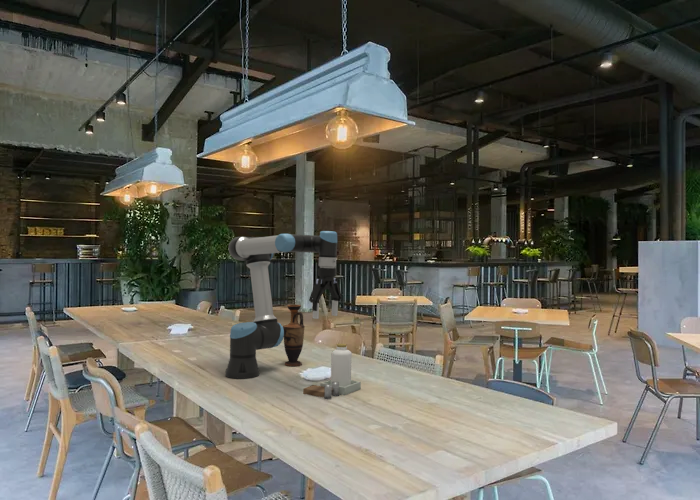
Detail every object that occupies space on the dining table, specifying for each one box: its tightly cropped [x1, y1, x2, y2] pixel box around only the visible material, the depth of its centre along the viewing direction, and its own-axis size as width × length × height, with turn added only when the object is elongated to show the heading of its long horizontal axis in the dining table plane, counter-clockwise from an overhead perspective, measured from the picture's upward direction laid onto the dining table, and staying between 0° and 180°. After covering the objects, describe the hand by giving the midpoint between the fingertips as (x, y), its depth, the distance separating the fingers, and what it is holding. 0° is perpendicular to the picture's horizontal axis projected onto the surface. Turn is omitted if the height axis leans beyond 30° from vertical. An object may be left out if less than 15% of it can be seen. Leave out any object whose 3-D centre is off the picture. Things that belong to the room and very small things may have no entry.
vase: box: [282, 304, 306, 367], centre depth 252 cm, size 11×11×30 cm
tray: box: [320, 379, 362, 396], centre depth 206 cm, size 12×12×3 cm
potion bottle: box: [330, 343, 353, 387], centre depth 206 cm, size 8×8×18 cm
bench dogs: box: [323, 382, 340, 400], centre depth 196 cm, size 3×8×5 cm, turn 147°
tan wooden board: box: [302, 384, 324, 398], centre depth 200 cm, size 10×7×2 cm
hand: (325, 317), depth 213 cm, fingers open, 13 cm apart
